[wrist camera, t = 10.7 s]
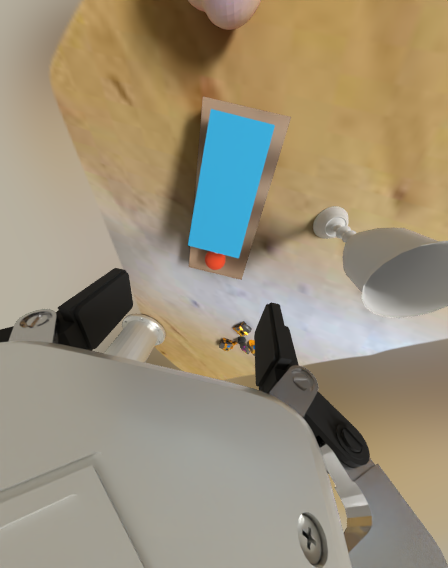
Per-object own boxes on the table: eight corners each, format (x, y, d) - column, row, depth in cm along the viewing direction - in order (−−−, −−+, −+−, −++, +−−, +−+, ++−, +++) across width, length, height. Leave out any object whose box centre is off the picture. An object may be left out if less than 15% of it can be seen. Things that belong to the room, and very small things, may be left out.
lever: (218, 141, 24) (195, 262, 30) (210, 108, 18) (183, 271, 23) (265, 153, 24) (233, 271, 30) (275, 124, 18) (231, 284, 23)
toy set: (210, 325, 46) (206, 340, 42) (251, 318, 43) (250, 333, 39) (226, 352, 52) (224, 367, 48) (263, 348, 48) (264, 364, 44)
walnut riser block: (242, 269, 35) (241, 279, 31) (194, 257, 35) (188, 266, 31) (285, 125, 22) (291, 117, 19) (210, 107, 22) (202, 96, 19)
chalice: (354, 191, 25) (503, 222, 10) (357, 233, 28) (475, 306, 13) (301, 212, 27) (358, 262, 13) (310, 249, 30) (363, 325, 16)
